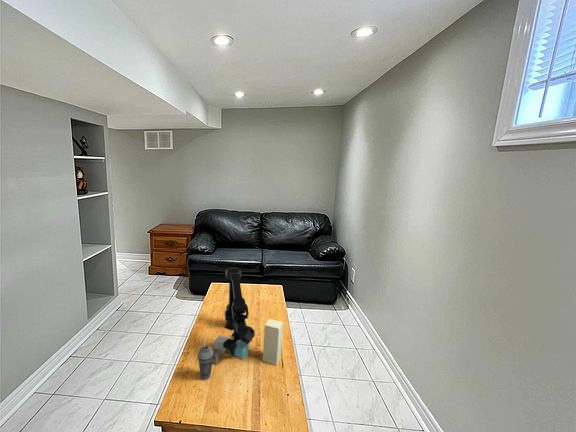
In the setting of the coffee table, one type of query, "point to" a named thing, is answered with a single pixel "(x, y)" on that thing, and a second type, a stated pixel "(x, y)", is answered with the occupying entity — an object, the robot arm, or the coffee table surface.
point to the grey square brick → (220, 343)
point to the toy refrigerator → (272, 341)
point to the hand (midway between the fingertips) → (238, 351)
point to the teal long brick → (241, 349)
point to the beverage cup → (205, 361)
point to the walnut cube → (216, 356)
